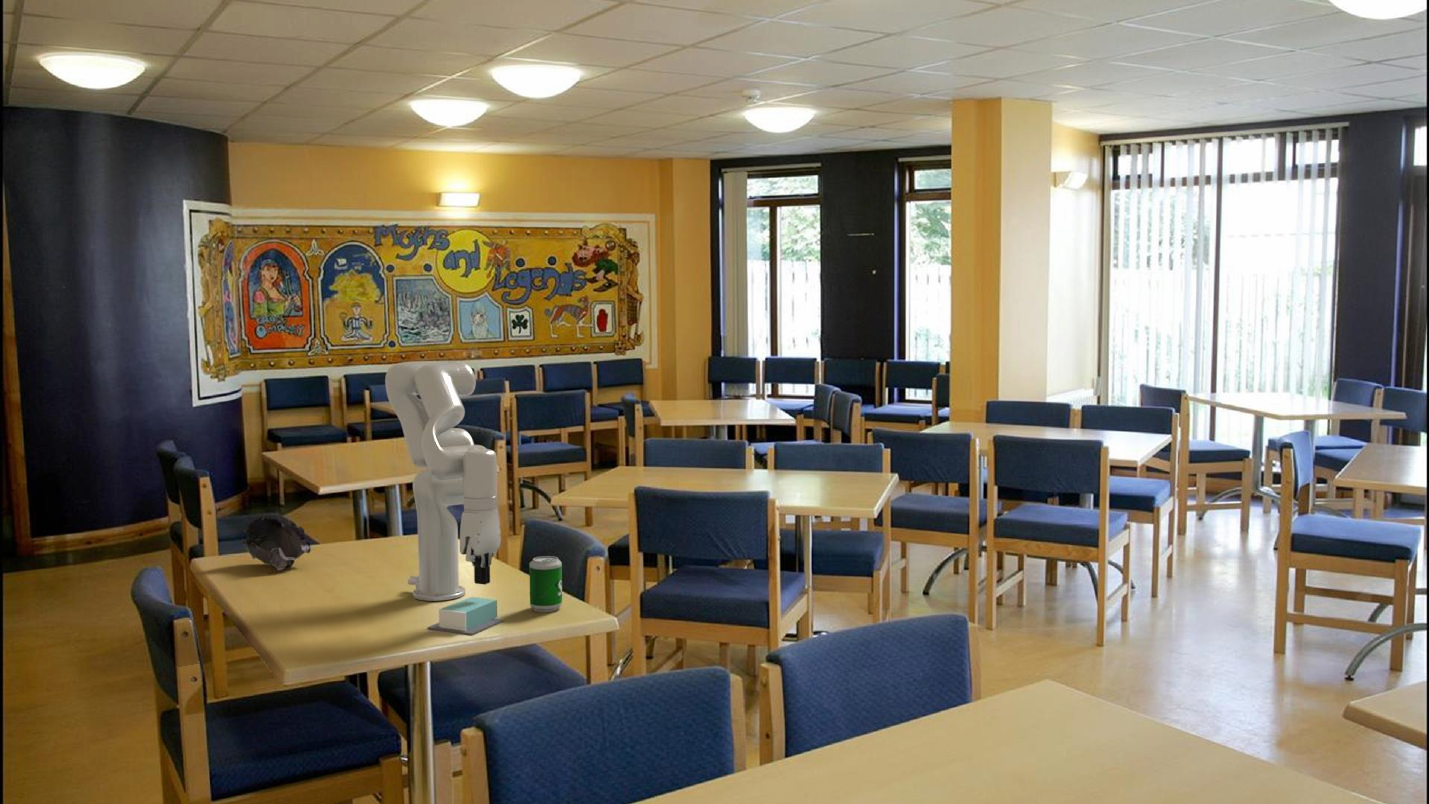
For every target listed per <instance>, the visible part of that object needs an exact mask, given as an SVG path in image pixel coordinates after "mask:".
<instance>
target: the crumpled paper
mask: <svg viewBox="0 0 1429 804" xmlns="http://www.w3.org/2000/svg"><path fill="white" fill-rule="evenodd" d="M280 518H281V515H279V516H278V517H276V518H272V517H271V516H269V515H263V516H261V517H259V518H256V519H253V520H252V521H251V522H249V524H248V525H246V527H244V530H243V532H244V534H245V535H246V538H244V539H243V538H242V539H241V542H242V543H243V546H244V548H245V549H246V551H247V553H249V555H250V556H251V557H252V559H253V560H255V559H257V560H259V561H260V562H261V563H263V564H267V565H272V566H274V567H275V569H276V570H278V571H281V570H284V569H285V568H286V567H287V566H290V567H291V566H293V565H294V564H295V560H297V559H300V557H301V556H303V555H304V554H305V553H306V554H310V553H311V549H312V548H311V542H310V541H308V540H307V537H306V535H308V533H307V534H305V529H304V528H303V527H302V526H299V527H297V524H296V522H294V521H292V520H290V519H289V520H287V521H285V522H284V523H282V522H280Z"/></svg>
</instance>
